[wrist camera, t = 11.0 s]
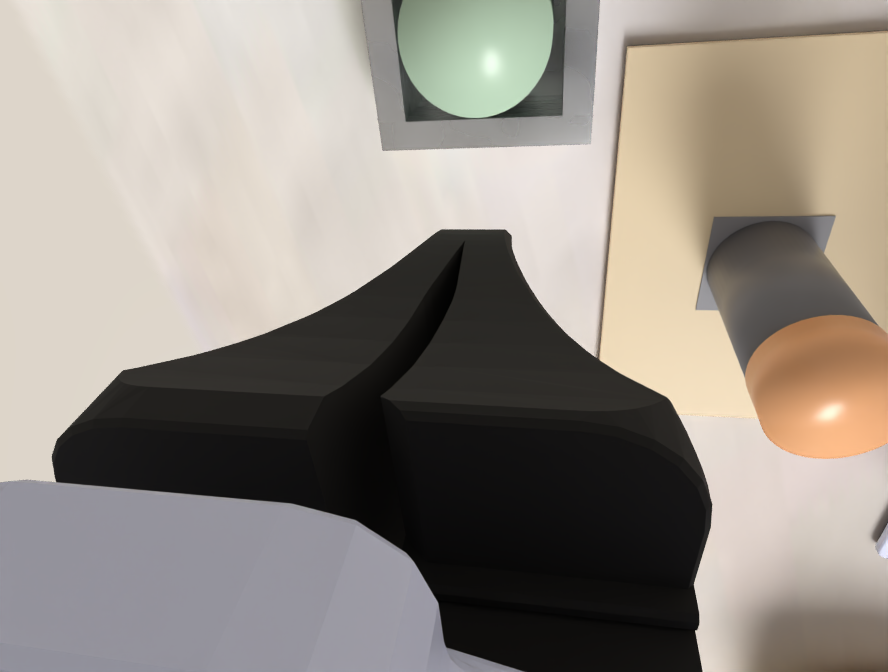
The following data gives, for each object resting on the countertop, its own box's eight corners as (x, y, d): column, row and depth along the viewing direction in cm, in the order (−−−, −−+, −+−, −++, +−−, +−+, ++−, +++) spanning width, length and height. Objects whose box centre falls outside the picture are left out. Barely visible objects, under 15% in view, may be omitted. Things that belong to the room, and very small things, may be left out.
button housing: (601, -126, 15) (608, -132, 13) (587, 118, 18) (590, 144, 16) (373, -100, 16) (346, -102, 14) (401, 126, 19) (382, 150, 17)
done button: (556, -68, 15) (555, -64, 13) (552, 86, 17) (551, 115, 15) (413, -55, 16) (387, -48, 13) (427, 92, 18) (407, 121, 16)
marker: (835, 221, 18) (953, 357, 13) (800, 312, 20) (889, 464, 15) (718, 217, 19) (783, 346, 13) (695, 307, 21) (743, 451, 15)
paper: (1028, 22, 15) (1037, 24, 15) (853, 417, 23) (857, 424, 23) (627, 46, 17) (628, 48, 17) (594, 406, 25) (595, 411, 25)
